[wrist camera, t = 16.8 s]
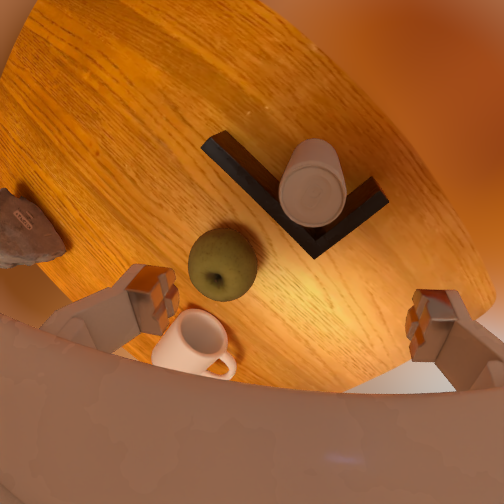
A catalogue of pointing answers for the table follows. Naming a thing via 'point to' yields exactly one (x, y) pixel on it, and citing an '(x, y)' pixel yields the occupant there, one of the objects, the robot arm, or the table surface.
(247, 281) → the apple
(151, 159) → the table surface
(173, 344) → the mug
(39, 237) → the decorative rock
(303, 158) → the beverage can
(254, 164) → the bracket
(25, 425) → the robot arm
